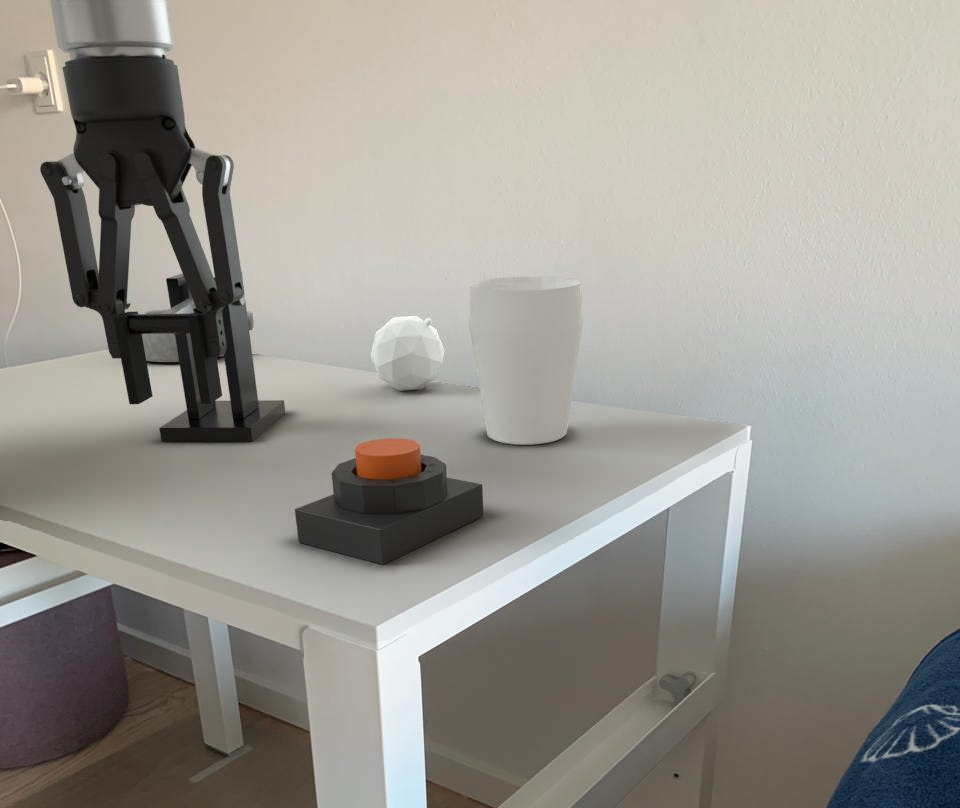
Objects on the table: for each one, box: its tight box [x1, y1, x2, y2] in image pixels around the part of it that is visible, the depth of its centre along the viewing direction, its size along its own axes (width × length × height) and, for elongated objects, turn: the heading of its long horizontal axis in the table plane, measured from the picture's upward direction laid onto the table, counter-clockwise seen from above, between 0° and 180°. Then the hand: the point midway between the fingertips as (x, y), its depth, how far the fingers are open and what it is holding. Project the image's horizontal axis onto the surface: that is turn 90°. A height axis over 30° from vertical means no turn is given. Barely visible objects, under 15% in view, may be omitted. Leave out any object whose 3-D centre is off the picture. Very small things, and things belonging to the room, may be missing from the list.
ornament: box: [370, 315, 446, 392], centre depth 99 cm, size 7×7×8 cm
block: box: [294, 454, 484, 565], centre depth 63 cm, size 10×7×4 cm
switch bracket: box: [158, 271, 286, 443], centre depth 86 cm, size 10×8×13 cm
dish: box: [142, 308, 255, 363], centre depth 121 cm, size 14×14×5 cm
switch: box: [127, 286, 196, 334], centre depth 80 cm, size 12×5×2 cm, turn 174°
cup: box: [468, 276, 584, 446], centre depth 81 cm, size 9×9×12 cm
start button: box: [354, 437, 422, 479], centre depth 62 cm, size 4×4×2 cm
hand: (176, 399), depth 78 cm, fingers closed on switch, 5 cm apart
